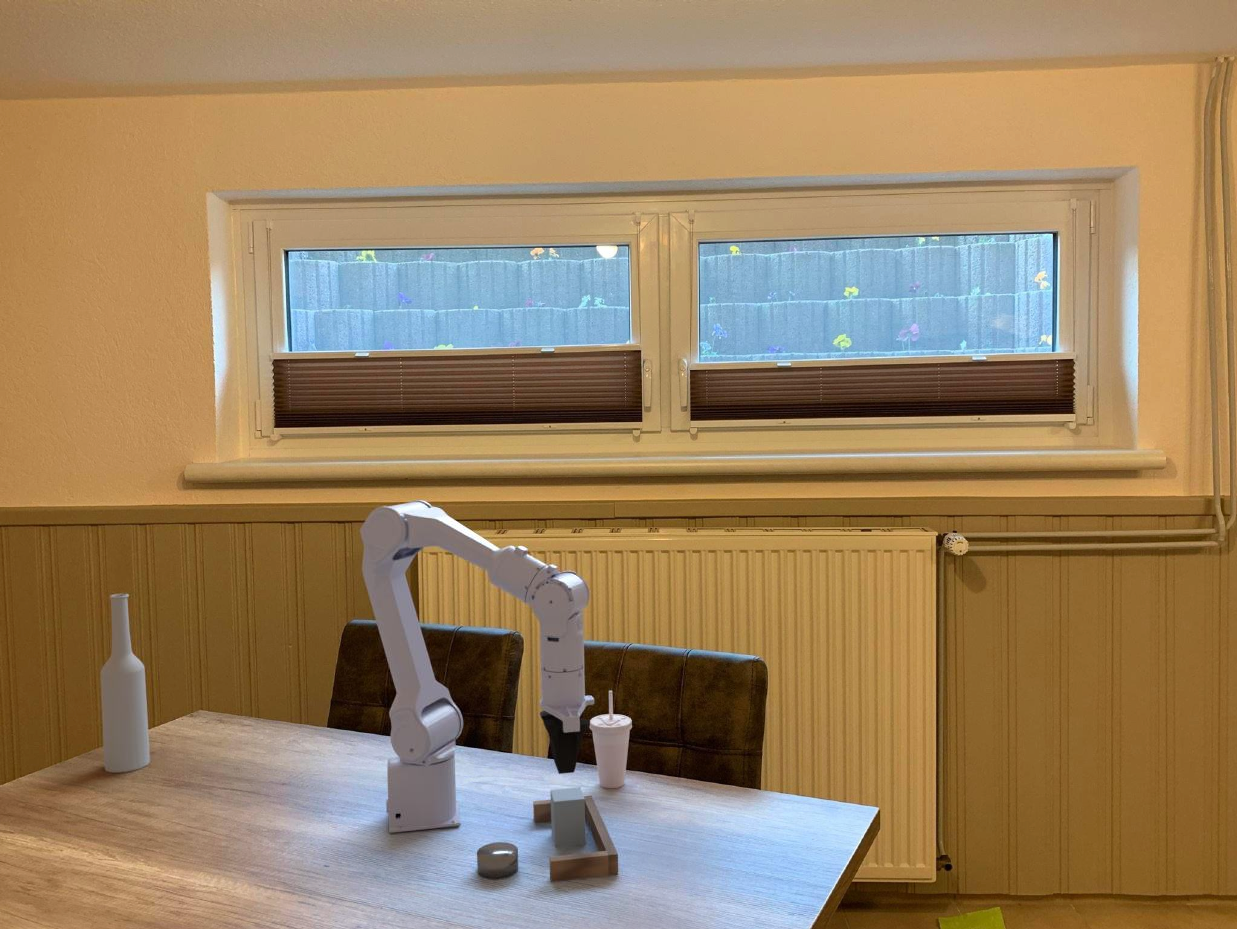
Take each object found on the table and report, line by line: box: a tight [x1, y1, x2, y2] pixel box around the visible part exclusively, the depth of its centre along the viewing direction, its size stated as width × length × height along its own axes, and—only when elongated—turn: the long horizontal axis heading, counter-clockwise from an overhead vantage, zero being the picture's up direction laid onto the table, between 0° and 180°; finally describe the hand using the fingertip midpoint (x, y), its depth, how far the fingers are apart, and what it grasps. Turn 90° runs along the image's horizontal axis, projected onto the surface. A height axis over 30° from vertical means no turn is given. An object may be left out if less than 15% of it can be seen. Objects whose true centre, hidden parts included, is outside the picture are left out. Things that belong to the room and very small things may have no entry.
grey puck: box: [476, 841, 519, 881], centre depth 120 cm, size 5×5×2 cm
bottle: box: [100, 593, 151, 774], centre depth 158 cm, size 7×7×28 cm
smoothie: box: [589, 690, 633, 789], centre depth 147 cm, size 6×6×14 cm
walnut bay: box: [532, 795, 619, 883], centre depth 127 cm, size 8×18×2 cm, turn 12°
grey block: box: [550, 787, 587, 848], centre depth 129 cm, size 4×4×6 cm
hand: (564, 768), depth 128 cm, fingers closed
